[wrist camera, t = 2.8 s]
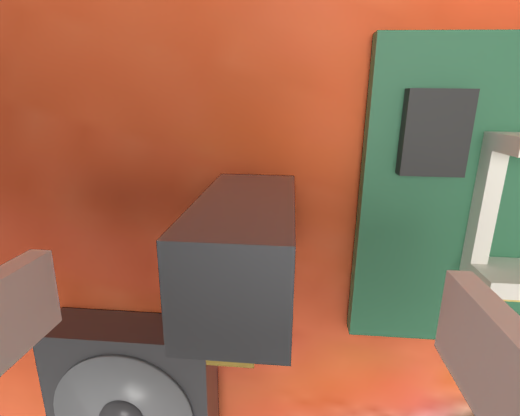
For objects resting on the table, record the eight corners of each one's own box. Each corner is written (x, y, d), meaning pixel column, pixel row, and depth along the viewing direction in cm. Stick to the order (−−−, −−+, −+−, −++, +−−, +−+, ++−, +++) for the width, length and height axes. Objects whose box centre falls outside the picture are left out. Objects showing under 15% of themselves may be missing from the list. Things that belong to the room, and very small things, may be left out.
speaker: (62, 307, 23) (23, 343, 20) (216, 316, 23) (202, 355, 19) (82, 429, 26) (51, 479, 23) (219, 441, 25) (208, 494, 22)
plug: (221, 173, 20) (156, 240, 11) (294, 175, 20) (295, 246, 10) (222, 251, 21) (166, 373, 12) (291, 254, 21) (290, 381, 12)
